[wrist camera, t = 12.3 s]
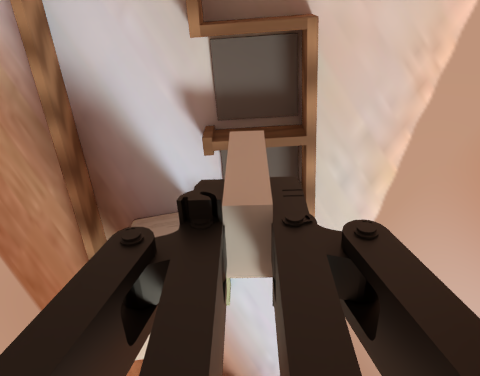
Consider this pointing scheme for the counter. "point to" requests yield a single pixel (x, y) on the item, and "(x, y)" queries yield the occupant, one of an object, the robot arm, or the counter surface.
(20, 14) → the lane
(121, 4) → the counter surface
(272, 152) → the mats
